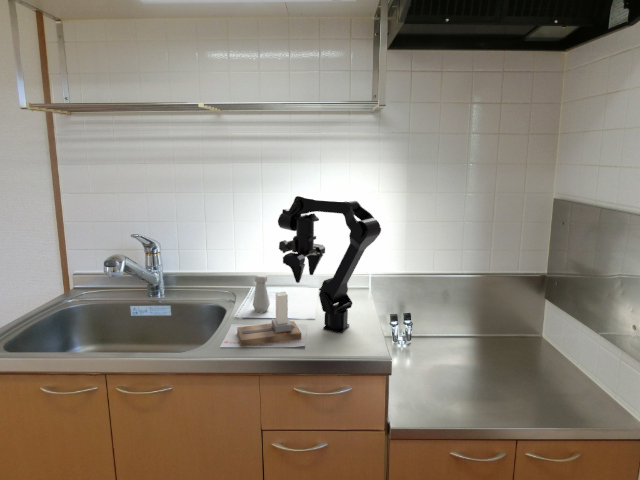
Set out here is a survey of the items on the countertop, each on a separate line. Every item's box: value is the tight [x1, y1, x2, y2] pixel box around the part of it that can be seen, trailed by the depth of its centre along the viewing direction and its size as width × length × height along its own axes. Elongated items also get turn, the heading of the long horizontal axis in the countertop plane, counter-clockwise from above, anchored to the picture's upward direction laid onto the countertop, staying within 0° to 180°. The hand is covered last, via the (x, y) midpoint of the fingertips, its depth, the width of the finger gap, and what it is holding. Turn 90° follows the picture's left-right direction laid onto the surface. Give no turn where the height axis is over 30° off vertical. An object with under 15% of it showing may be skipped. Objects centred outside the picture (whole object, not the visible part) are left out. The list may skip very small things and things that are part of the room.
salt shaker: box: [252, 273, 271, 313], centre depth 153 cm, size 6×6×13 cm
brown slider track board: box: [236, 320, 302, 347], centre depth 135 cm, size 18×9×2 cm, turn 108°
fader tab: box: [271, 291, 292, 333], centre depth 134 cm, size 5×6×11 cm
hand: (304, 278), depth 148 cm, fingers open, 9 cm apart
